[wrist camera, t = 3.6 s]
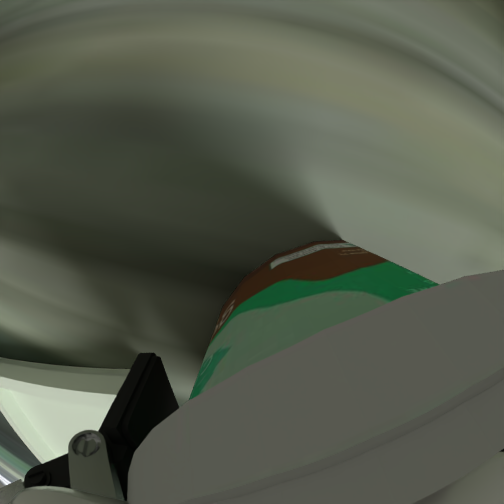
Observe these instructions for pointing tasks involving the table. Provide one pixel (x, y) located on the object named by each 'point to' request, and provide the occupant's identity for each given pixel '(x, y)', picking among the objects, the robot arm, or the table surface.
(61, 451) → the tray
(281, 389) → the food container
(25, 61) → the table surface
